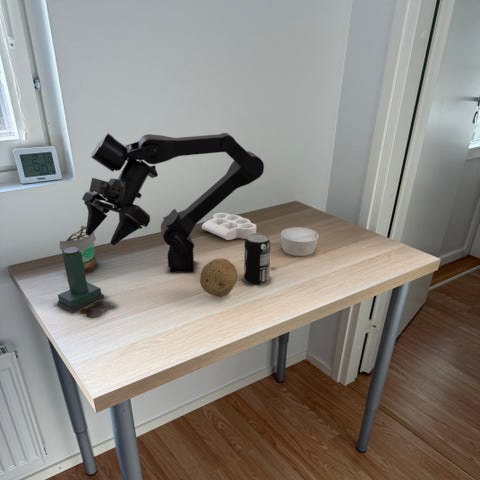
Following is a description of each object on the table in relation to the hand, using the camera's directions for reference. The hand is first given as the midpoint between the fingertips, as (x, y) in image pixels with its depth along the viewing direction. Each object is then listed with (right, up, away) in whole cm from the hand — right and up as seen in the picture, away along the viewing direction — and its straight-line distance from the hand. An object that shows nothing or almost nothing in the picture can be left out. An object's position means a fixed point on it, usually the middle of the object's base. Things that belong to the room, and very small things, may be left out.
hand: (99, 239), depth 111 cm
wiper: (-5, -15, +2) cm, 16 cm away
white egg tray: (+25, +8, +33) cm, 42 cm away
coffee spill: (0, -17, -1) cm, 17 cm away
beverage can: (+38, -9, +12) cm, 41 cm away
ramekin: (+51, +1, +29) cm, 59 cm away
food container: (-8, -5, +17) cm, 20 cm away
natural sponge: (+28, -14, +4) cm, 32 cm away
